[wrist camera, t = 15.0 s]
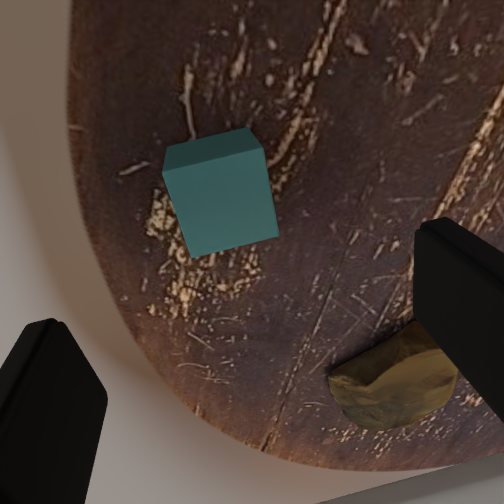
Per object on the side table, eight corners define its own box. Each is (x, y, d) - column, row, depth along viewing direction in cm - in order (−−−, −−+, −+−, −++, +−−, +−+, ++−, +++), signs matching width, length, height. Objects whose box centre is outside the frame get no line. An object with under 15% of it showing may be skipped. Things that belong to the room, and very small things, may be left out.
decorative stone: (448, 390, 31) (477, 428, 28) (343, 429, 31) (360, 470, 28) (441, 299, 25) (477, 334, 22) (314, 347, 25) (332, 388, 22)
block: (166, 146, 17) (161, 172, 14) (248, 126, 17) (263, 146, 14) (190, 220, 19) (191, 259, 16) (263, 202, 19) (280, 236, 16)
